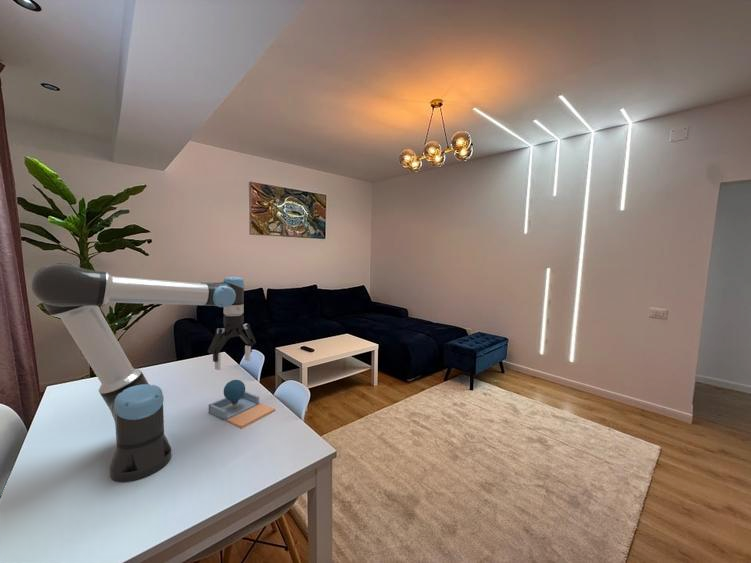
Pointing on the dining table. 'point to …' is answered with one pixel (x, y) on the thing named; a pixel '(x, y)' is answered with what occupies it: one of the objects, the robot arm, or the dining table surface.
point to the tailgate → (250, 415)
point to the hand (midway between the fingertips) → (233, 364)
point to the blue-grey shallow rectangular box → (226, 410)
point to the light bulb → (234, 391)
